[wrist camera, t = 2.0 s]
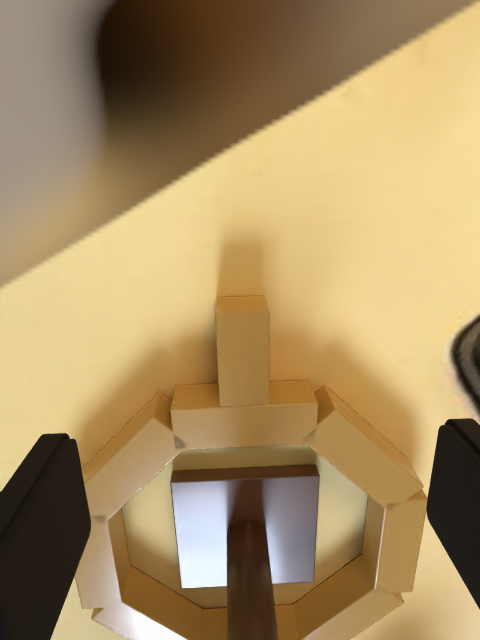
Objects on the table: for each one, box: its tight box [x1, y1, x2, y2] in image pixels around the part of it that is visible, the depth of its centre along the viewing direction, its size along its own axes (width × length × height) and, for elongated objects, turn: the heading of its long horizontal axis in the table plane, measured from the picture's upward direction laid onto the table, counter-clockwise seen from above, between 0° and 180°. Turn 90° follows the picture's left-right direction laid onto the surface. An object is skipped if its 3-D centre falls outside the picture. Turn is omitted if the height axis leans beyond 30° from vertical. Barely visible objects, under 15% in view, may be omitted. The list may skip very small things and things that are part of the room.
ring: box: [75, 296, 428, 640], centre depth 20 cm, size 20×16×2 cm
